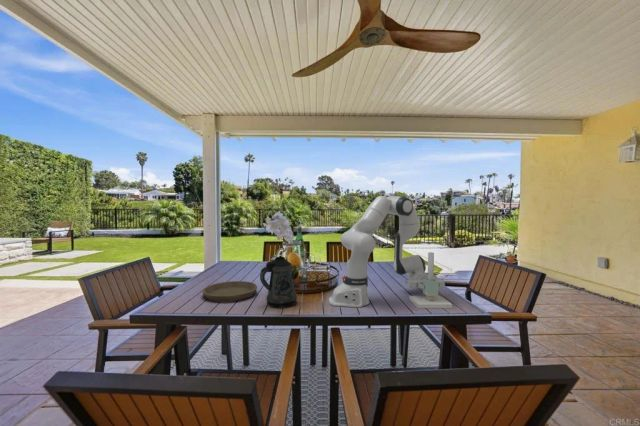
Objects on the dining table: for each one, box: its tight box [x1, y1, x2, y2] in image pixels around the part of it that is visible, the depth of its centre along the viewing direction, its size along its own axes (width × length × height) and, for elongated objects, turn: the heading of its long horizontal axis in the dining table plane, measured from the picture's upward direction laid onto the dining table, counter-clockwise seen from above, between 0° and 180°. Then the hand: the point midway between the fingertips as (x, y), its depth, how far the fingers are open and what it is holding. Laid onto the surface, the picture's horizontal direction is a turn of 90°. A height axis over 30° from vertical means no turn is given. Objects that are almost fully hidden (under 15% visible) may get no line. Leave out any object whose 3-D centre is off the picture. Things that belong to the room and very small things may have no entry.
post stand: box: [409, 251, 453, 309], centre depth 163 cm, size 18×14×28 cm
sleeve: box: [422, 278, 439, 296], centre depth 163 cm, size 6×6×8 cm
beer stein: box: [259, 256, 298, 309], centre depth 161 cm, size 16×19×25 cm
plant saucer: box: [201, 280, 258, 303], centre depth 176 cm, size 31×31×5 cm
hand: (431, 287), depth 162 cm, fingers closed on sleeve, 6 cm apart
